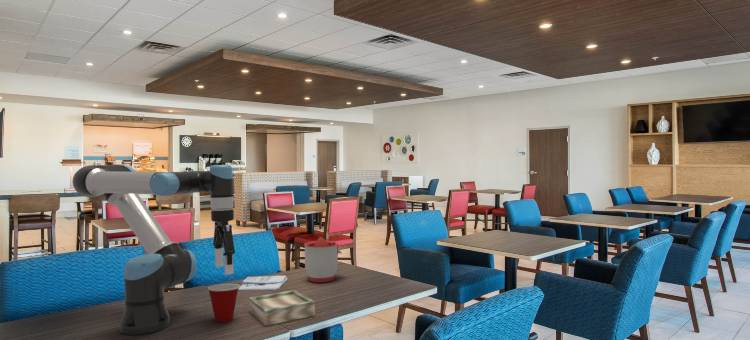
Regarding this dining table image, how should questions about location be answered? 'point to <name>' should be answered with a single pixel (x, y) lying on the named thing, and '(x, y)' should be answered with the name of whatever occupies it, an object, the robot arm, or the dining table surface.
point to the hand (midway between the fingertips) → (224, 270)
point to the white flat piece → (270, 282)
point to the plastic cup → (223, 301)
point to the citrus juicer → (321, 260)
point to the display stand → (281, 307)
